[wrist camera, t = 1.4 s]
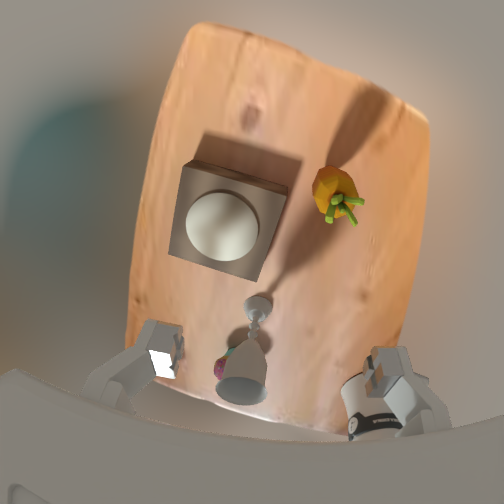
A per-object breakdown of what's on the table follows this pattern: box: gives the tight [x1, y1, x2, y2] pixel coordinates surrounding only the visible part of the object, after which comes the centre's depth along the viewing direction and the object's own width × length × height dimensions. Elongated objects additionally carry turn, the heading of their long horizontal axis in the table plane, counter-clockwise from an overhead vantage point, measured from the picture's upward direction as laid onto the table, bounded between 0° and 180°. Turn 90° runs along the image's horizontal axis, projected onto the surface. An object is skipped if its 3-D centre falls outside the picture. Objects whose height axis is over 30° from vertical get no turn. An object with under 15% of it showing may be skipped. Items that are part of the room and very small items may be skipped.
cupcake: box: [214, 348, 235, 380], centre depth 53 cm, size 9×8×12 cm
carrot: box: [312, 165, 365, 227], centre depth 32 cm, size 5×5×15 cm
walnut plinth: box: [168, 160, 288, 282], centre depth 42 cm, size 14×14×4 cm
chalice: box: [216, 296, 272, 405], centre depth 44 cm, size 7×7×18 cm
